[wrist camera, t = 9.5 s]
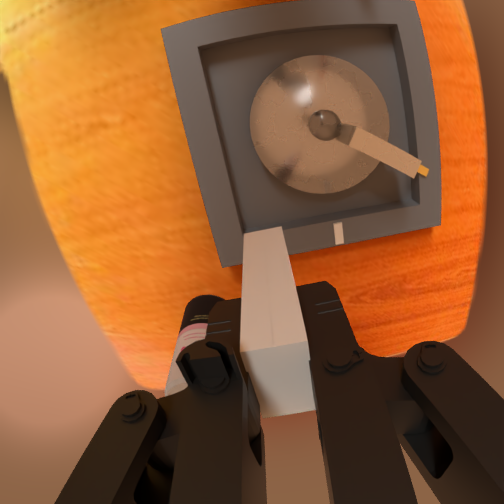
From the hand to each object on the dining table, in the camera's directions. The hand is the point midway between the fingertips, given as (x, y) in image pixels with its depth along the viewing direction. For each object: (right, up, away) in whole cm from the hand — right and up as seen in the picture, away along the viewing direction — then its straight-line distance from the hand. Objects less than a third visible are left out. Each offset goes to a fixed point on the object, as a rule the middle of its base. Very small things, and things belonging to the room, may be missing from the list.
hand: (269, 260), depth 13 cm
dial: (+7, +13, +17) cm, 23 cm away
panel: (+6, +14, +18) cm, 24 cm away
